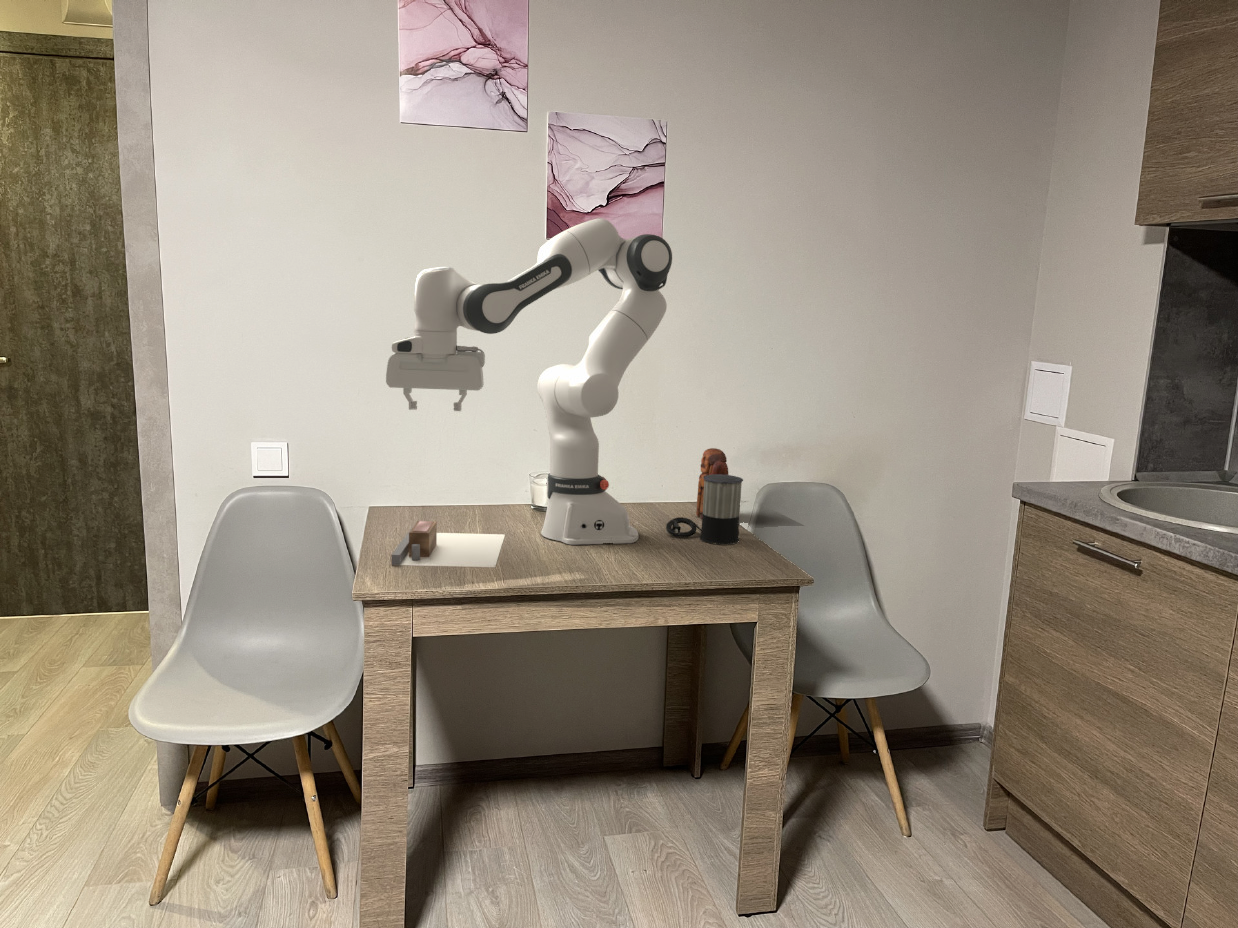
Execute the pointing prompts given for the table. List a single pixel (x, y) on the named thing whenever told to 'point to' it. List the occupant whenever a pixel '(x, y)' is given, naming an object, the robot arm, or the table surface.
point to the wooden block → (423, 537)
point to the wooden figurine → (710, 472)
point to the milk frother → (715, 511)
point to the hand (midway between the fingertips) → (435, 410)
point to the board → (453, 551)
